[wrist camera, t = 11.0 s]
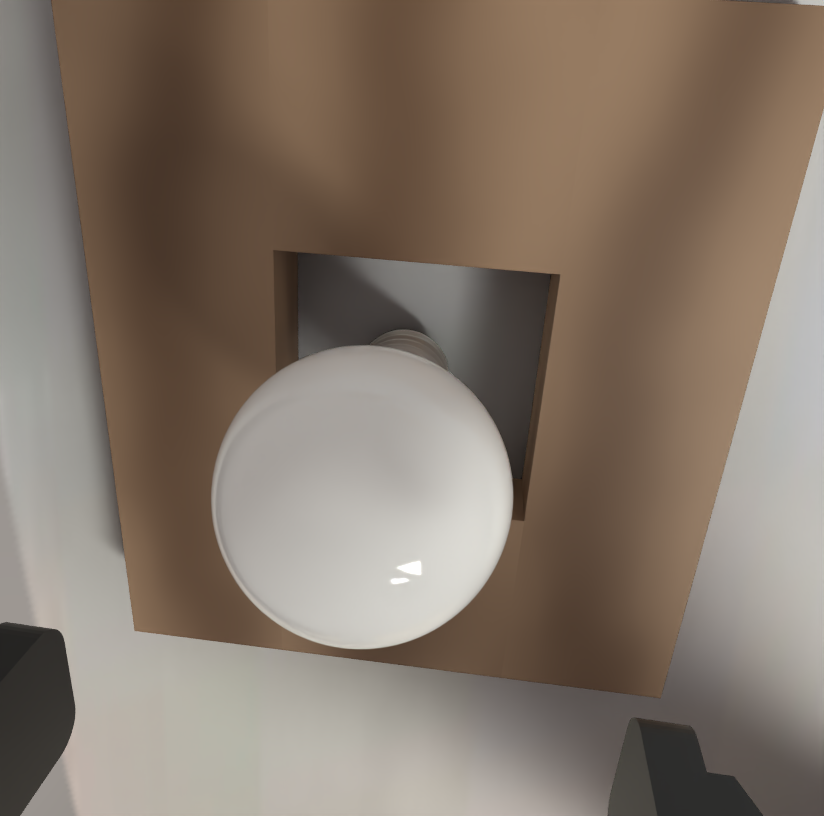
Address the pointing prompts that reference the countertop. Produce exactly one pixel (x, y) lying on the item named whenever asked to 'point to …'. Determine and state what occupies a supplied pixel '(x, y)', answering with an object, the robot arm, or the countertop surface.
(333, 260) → the countertop surface
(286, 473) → the lightbulb
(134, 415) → the holder block
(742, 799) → the robot arm
